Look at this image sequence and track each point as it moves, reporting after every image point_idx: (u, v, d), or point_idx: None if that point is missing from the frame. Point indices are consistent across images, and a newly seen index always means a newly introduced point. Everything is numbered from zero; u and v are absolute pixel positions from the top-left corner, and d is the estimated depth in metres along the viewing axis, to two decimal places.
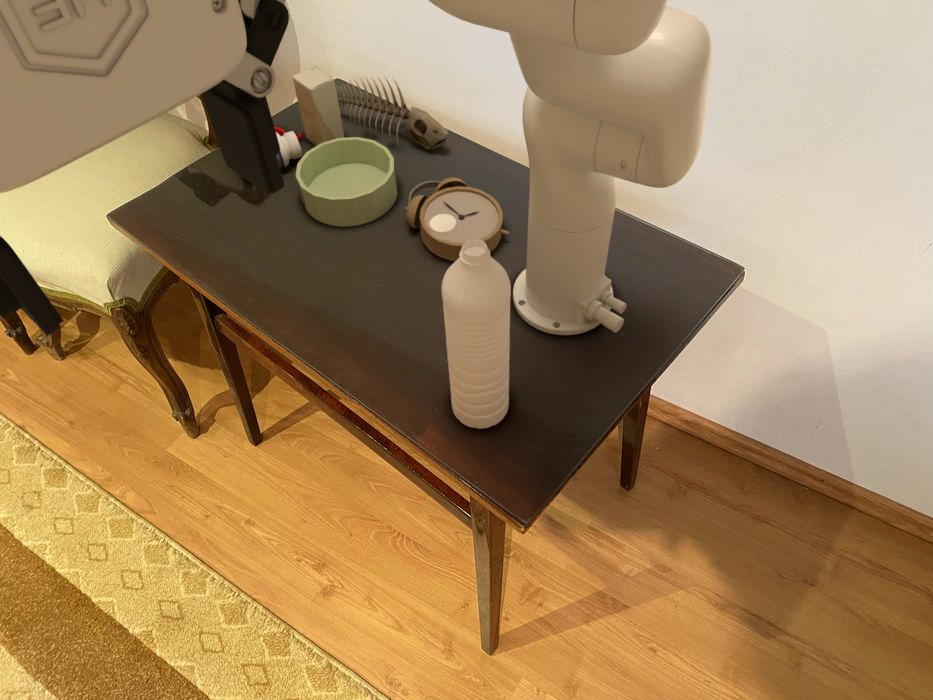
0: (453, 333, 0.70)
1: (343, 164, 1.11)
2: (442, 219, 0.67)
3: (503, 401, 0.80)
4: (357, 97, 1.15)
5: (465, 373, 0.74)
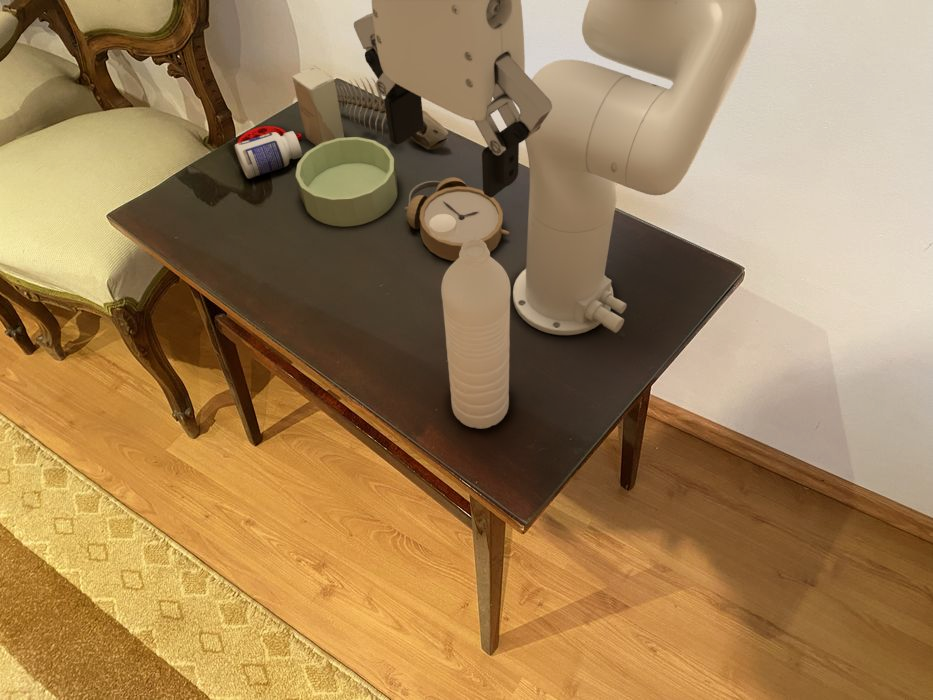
0: (453, 333, 0.70)
1: (343, 164, 1.11)
2: (441, 219, 0.67)
3: (503, 401, 0.80)
4: (357, 97, 1.15)
5: (464, 373, 0.74)
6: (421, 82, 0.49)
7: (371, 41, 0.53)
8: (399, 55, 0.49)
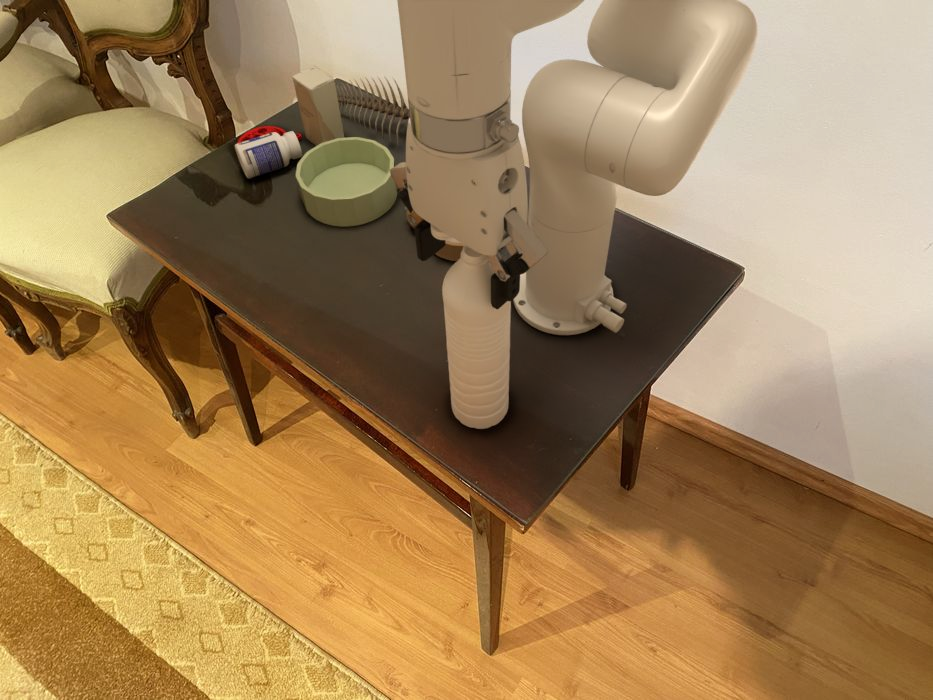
0: (454, 334, 0.70)
1: (343, 164, 1.11)
2: None
3: (503, 401, 0.80)
4: (357, 97, 1.15)
5: (465, 373, 0.74)
6: (444, 223, 0.61)
7: (404, 184, 0.65)
8: (427, 202, 0.61)
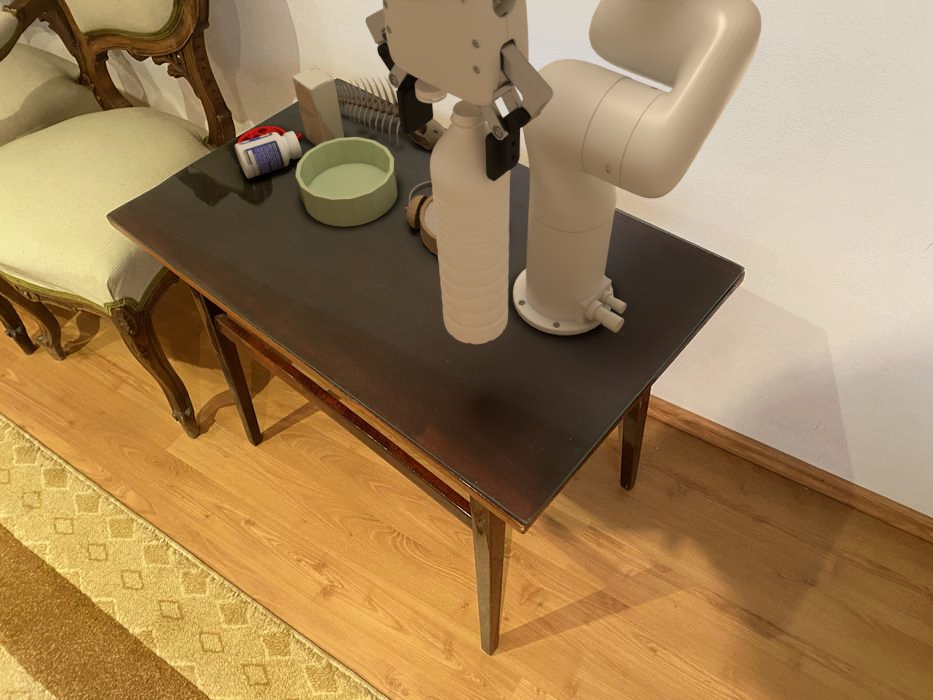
0: (444, 220, 0.61)
1: (343, 164, 1.11)
2: None
3: (502, 311, 0.70)
4: (357, 97, 1.15)
5: (458, 272, 0.65)
6: (430, 69, 0.52)
7: (382, 35, 0.55)
8: (408, 44, 0.51)
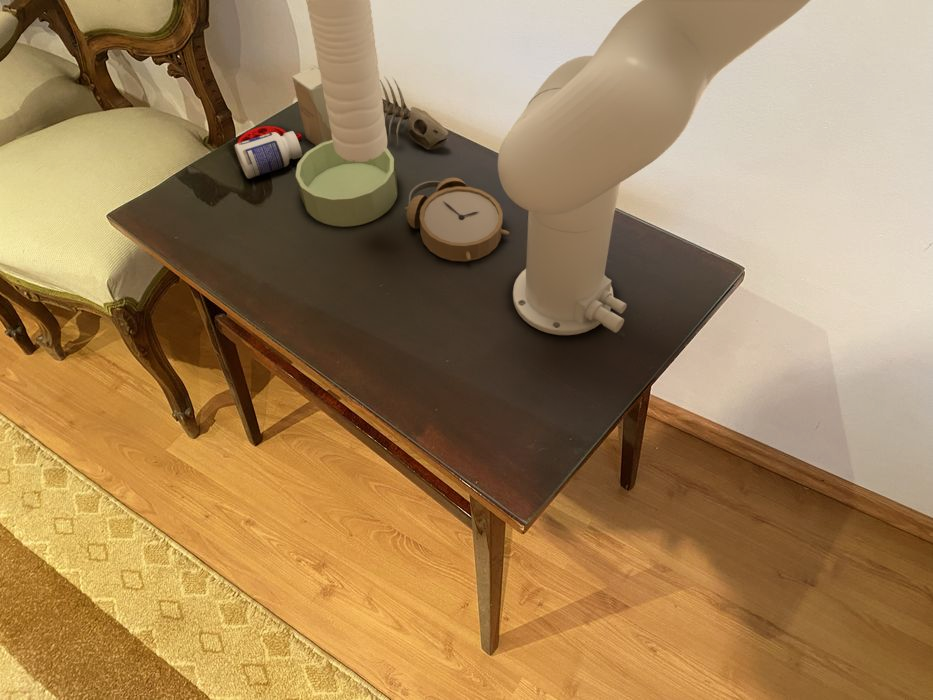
0: (317, 33, 0.75)
1: (343, 164, 1.11)
2: None
3: (378, 130, 0.85)
4: None
5: (334, 85, 0.79)
6: None
7: None
8: None
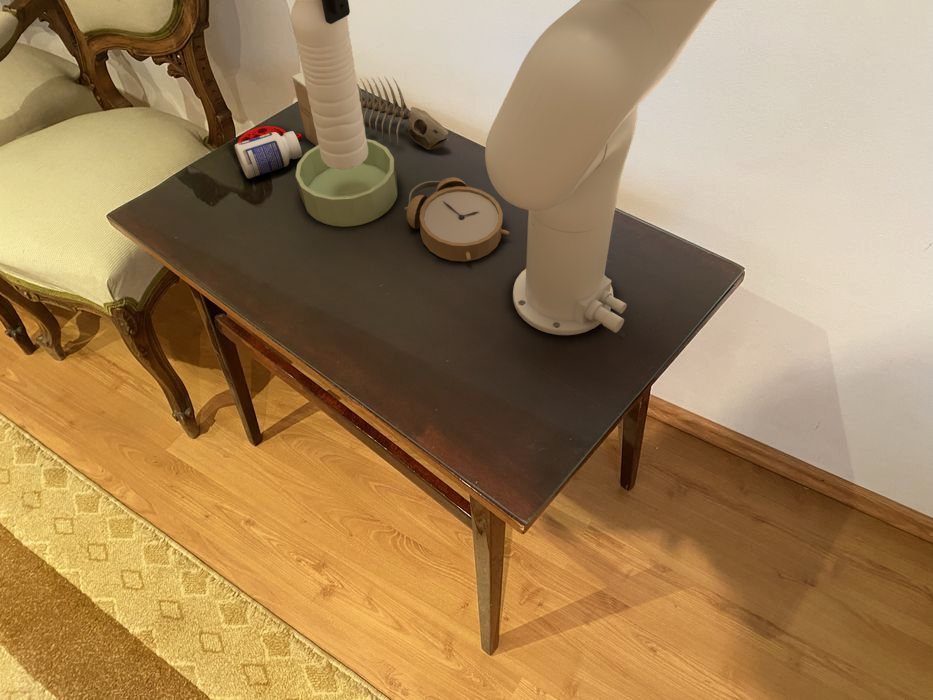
0: (304, 59, 0.88)
1: None
2: None
3: (358, 142, 0.97)
4: None
5: (319, 103, 0.92)
6: None
7: None
8: None
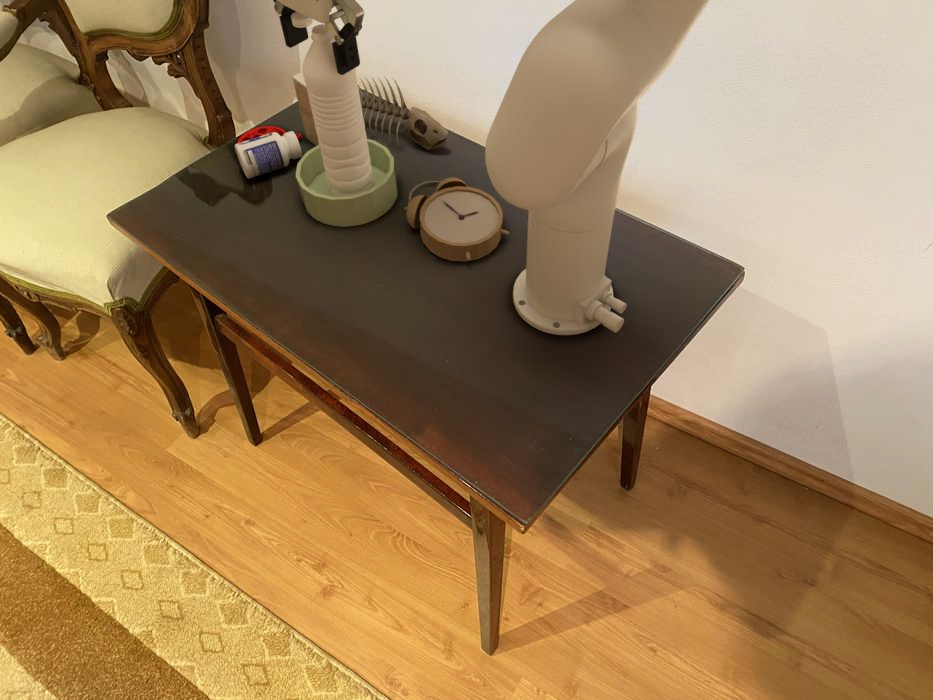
0: (314, 107, 0.93)
1: None
2: (300, 13, 0.89)
3: (366, 181, 1.02)
4: None
5: (329, 147, 0.97)
6: (294, 1, 0.84)
7: None
8: None
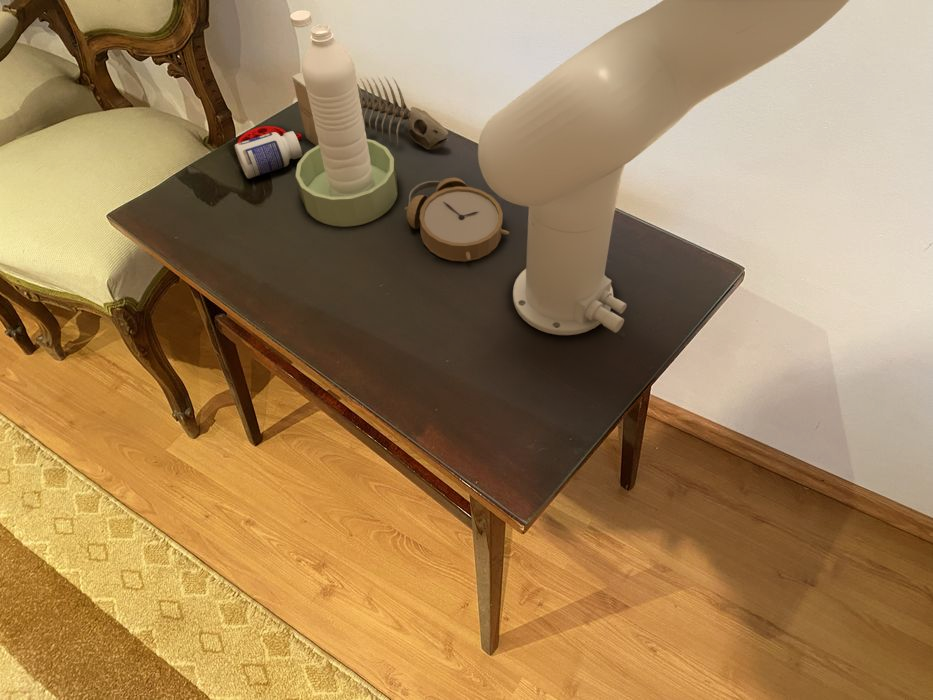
0: (314, 107, 0.93)
1: None
2: (300, 13, 0.89)
3: (366, 181, 1.02)
4: None
5: (328, 147, 0.97)
6: None
7: None
8: None
